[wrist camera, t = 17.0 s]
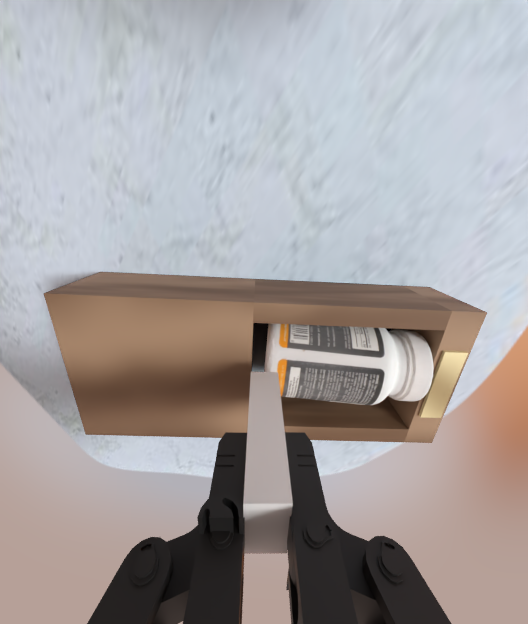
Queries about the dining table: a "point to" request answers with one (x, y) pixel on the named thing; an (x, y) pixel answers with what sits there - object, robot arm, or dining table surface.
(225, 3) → the dining table surface
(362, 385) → the pill bottle
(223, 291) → the brown wooden open box
